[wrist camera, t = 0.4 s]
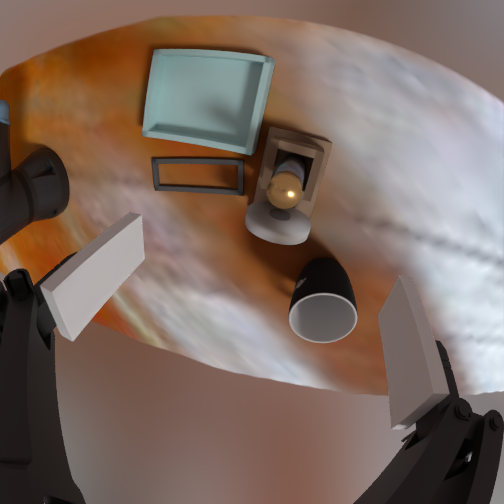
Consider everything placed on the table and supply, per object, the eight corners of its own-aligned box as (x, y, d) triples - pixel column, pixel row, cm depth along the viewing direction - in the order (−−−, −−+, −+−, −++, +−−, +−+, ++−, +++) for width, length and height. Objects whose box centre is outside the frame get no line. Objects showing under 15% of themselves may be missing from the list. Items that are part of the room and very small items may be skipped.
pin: (279, 171, 34) (263, 203, 24) (284, 150, 33) (270, 172, 22) (302, 178, 34) (296, 212, 24) (308, 156, 32) (305, 181, 22)
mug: (302, 243, 40) (297, 285, 31) (359, 257, 39) (368, 301, 30) (285, 304, 46) (276, 349, 38) (335, 315, 45) (335, 360, 37)
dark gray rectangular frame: (156, 189, 40) (154, 190, 40) (153, 158, 38) (151, 159, 37) (243, 194, 38) (242, 195, 37) (243, 159, 35) (243, 160, 35)
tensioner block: (252, 208, 39) (236, 237, 31) (270, 126, 32) (257, 132, 25) (307, 224, 38) (304, 257, 31) (331, 142, 32) (337, 154, 24)
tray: (153, 133, 36) (142, 136, 33) (165, 52, 29) (154, 49, 26) (255, 151, 34) (251, 155, 32) (275, 61, 28) (272, 57, 25)
